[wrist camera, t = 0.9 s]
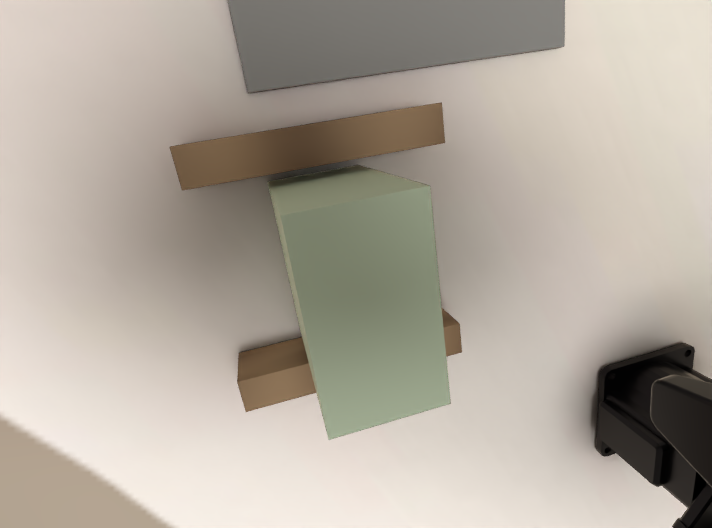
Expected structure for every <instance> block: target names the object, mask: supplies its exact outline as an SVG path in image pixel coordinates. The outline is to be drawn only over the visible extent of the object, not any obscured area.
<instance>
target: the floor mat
mask: <svg viewBox="0 0 712 528" xmlns="http://www.w3.org/2000/svg"><path fill="white" fill-rule="evenodd" d="M228 4H229V9H230V13H231V18H232V23H233V27H234V32H235V36H236V41H237V45H238V50H239V54H240V59H241V63H242V68H243V73H244V77H245V82H246V86H247V91H248V93H253V92H260V91H267V90H274V89H281V88H288V87H295V86H301V85H308V84H315V83H322V82H329V81H336V80H343V79H350V78H356V77H363V76H370V75H377V74H384V73H391V72H398V71H405V70H411V69H418V68H425V67H432V66H439V65H446V64H453V63H459V62H466V61H473V60H480V59H487V58H494V57H501V56H508V55H514V54H521V53H528V52H535V51H542V50H549V49H556V48H561V47H564V38H565V0H228Z"/></svg>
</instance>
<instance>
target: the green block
mask: <svg viewBox="0 0 712 528" xmlns="http://www.w3.org/2000/svg"><path fill="white" fill-rule="evenodd" d="M267 182H268V186H269V191H270V195H271V200H272V204H273V209H274V213H275V218H276V223H277V227H278V232H279V236H280V241H281V245H282V250H283V254H284V259H285V263H286V268H287V272H288V277H289V282H290V286H291V291H292V295H293V300H294V304H295V309H296V313H297V318H298V322H299V327H300V331H301V335H302V339H303V342H304V346H305V350H306V354H307V358H308V362H309V366H310V369H311V373H312V377H313V381H314V385H315V389H316V392H317V396H318V400H319V404H320V408H321V412H322V416H323V419H324V423H325V427H326V431H327V435H328V439H329V440H330V439H334V438H337V437H340V436H344V435H347V434H350V433H354V432H357V431H360V430H364V429H367V428H371V427H374V426H377V425H381V424H384V423H387V422H391V421H394V420H397V419H401V418H404V417H407V416H411V415H414V414H417V413H421V412H424V411H428V410H431V409H434V408H438V407H441V406H444V405H448V404H451V403H450V392H449V381H448V371H447V360H446V350H445V339H444V329H443V318H442V307H441V297H440V286H439V276H438V265H437V254H436V244H435V233H434V223H433V212H432V202H431V191H430V186H429V185H426V184H422V183H419V182H415V181H412V180H408V179H405V178H402V177H398V176H395V175H391V174H388V173H385V172H381V171H378V170H374V169H371V168H367V167H364V166H361V165H354V166H348V167H343V168H338V169H332V170H327V171H321V172H316V173H310V174H305V175H299V176H294V177H288V178H283V179H278V180H272V181H267Z"/></svg>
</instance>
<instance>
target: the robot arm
mask: <svg viewBox="0 0 712 528" xmlns="http://www.w3.org/2000/svg"><path fill="white" fill-rule="evenodd" d="M694 352H695V350H694V347H692V346H690V345H688V344H686V343H682V344H679V345H675V346H672V347H669V348H665V349H662V350H659V351H656V352H652V353H649V354H646V355H642V356H639V357H636V358H632V359H629V360H626V361H622V362H619V363H616V364H613V365H609V366H606V367H604V368H603V369H602V370H601V372H600V375H599V396H598V419H597V443H596V449H597V451H598V452H599V453H600V454H601V455H602V456H609V455H612V454H615V453H617V454H618V455H619V456H620V457H621V458H623V459H624V460H625V461H626V462H627V463H628V464H630V465H631V466H632V467H633V468H634V469H635V470H636V471H638V472H639V473H640V474H641V475H642V476H643V477H644V478H646V479H647V480H648V481H649V482H650V483H651V484H653V485H655V486H656V487H659V486H661V485H662V486H663V487H664V488H665V489H666V490H667V491H669V492H670V493H671V494H672V495H673V496H675V497H676V498H677V499H678V500H679V501H680V502H682V503H683V504H684V505H685V506H686V507H687V508H688V509H687V510H686V511H685V513H684V514H683V516H682V517H681V518H678V519H677V520H676V521H675V523H674V524H673V526H672V527H673V528H712V379H710V378H708V377H706V376H704V375H702V374H700V373H698V372H697V371H695V370H693V369H692V368H693V360H694Z"/></svg>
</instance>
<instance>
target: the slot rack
mask: <svg viewBox="0 0 712 528" xmlns="http://www.w3.org/2000/svg"><path fill="white" fill-rule="evenodd" d="M442 143H445V137H444V125H443V113H442V103H436V104H429V105H423V106H417V107H411V108H405V109H398V110H392V111H386V112H380V113H374V114H368V115H361V116H355V117H349V118H343V119H337V120H331V121H325V122H318V123H312V124H306V125H300V126H294V127H288V128H281V129H275V130H269V131H263V132H257V133H251V134H244V135H238V136H232V137H226V138H220V139H214V140H207V141H201V142H195V143H189V144H183V145H177V146H171V147H170V150H171V154H172V157H173V160H174V164H175V167H176V171H177V174H178V178H179V181H180V185H181V188H182V190H187V189H193V188H198V187H204V186H209V185H215V184H220V183H226V182H232V181H237V180H243V179H248V178H254V177H259V176H265V175H270V174H276V173H281V172H287V171H292V170H298V169H303V168H309V167H315V166H320V165H326V164H331V163H337V162H342V161H348V160H353V159H359V158H364V157H370V156H375V155H381V154H386V153H392V152H398V151H403V150H409V149H414V148H420V147H425V146H431V145H436V144H442ZM442 318H443V329H444V339H445V350H446V356H450V355H454V354H457V353H461V352H462V348H461V336H460V324H459V323H458V322H457V321H456V320H455V319H454V318H453V317H452V316H451V315H449V314H448V313H447V312H446V311H445V310H444V309H443V308H442ZM237 383H238V386H239V390H240V393H241V397H242V400H243V404H244V407H245V410H246V412H248V411H251V410H255V409H258V408H262V407H266V406H269V405H273V404H277V403H280V402H284V401H287V400H291V399H295V398H298V397H302V396H305V395H309V394H313V393H316V389H315V385H314V381H313V377H312V373H311V369H310V366H309V362H308V358H307V354H306V350H305V346H304V342H303V339H302V337H300V338H296V339H292V340H289V341H285V342H281V343H277V344H273V345H269V346H265V347H261V348H257V349H253V350H249V351H245V352H241V353H239V358H238V379H237Z"/></svg>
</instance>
